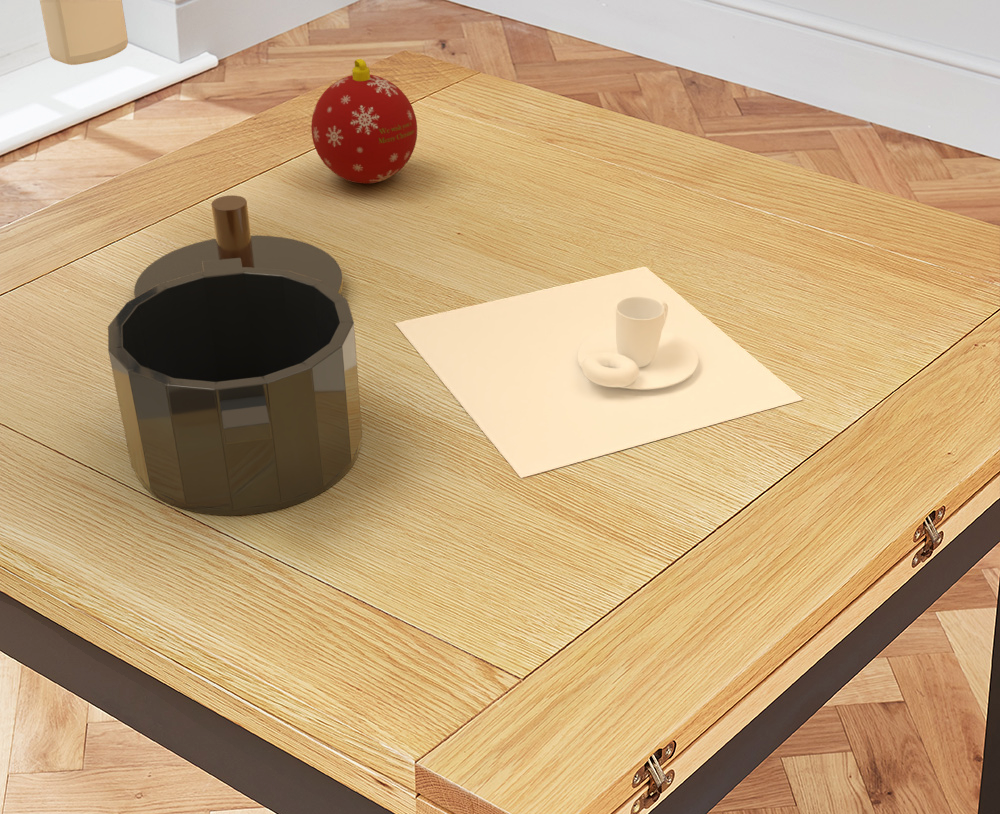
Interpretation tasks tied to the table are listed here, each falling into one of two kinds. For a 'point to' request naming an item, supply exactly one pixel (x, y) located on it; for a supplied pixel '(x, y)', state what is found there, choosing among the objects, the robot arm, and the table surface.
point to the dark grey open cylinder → (237, 388)
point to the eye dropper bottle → (84, 29)
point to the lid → (241, 251)
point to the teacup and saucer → (591, 369)
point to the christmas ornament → (364, 127)
